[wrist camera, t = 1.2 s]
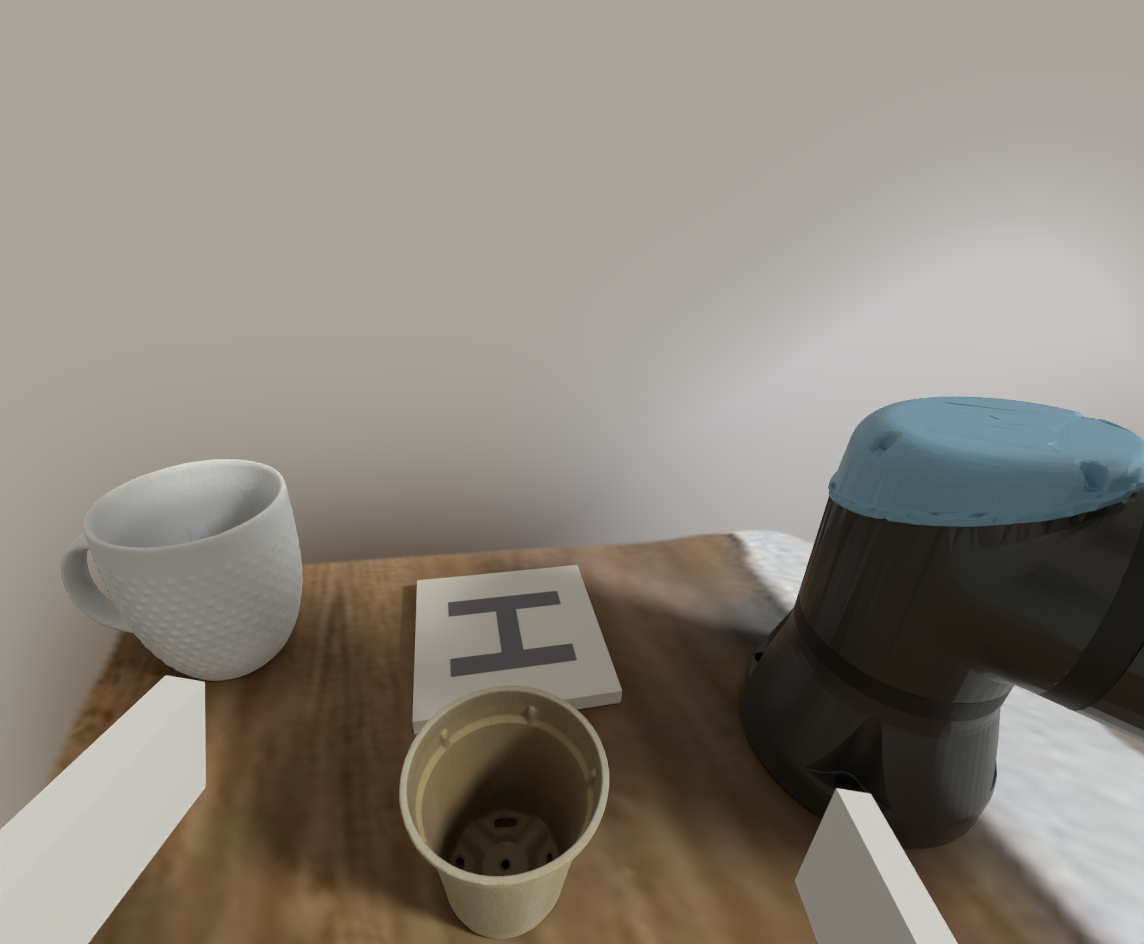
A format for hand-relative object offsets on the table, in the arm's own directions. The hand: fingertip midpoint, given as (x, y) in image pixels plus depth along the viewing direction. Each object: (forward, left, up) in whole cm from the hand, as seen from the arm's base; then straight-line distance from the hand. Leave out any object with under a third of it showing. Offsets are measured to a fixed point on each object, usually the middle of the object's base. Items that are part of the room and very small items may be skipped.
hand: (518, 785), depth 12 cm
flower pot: (-1, -9, -22) cm, 23 cm away
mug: (+18, -28, -22) cm, 40 cm away
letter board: (-3, -25, -21) cm, 33 cm away
